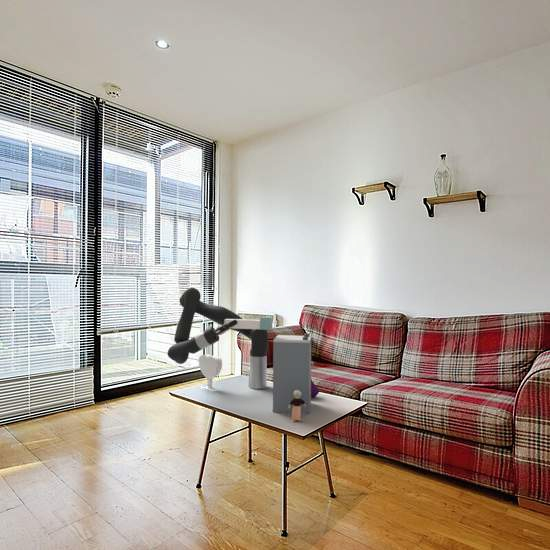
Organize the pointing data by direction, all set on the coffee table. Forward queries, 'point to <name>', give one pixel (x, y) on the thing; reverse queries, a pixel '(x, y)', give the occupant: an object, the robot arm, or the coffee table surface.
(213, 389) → the heart sculpture
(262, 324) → the cartridge
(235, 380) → the coffee table surface
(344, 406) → the coffee table surface
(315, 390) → the perfume bottle
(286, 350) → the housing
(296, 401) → the grandmother figurine
